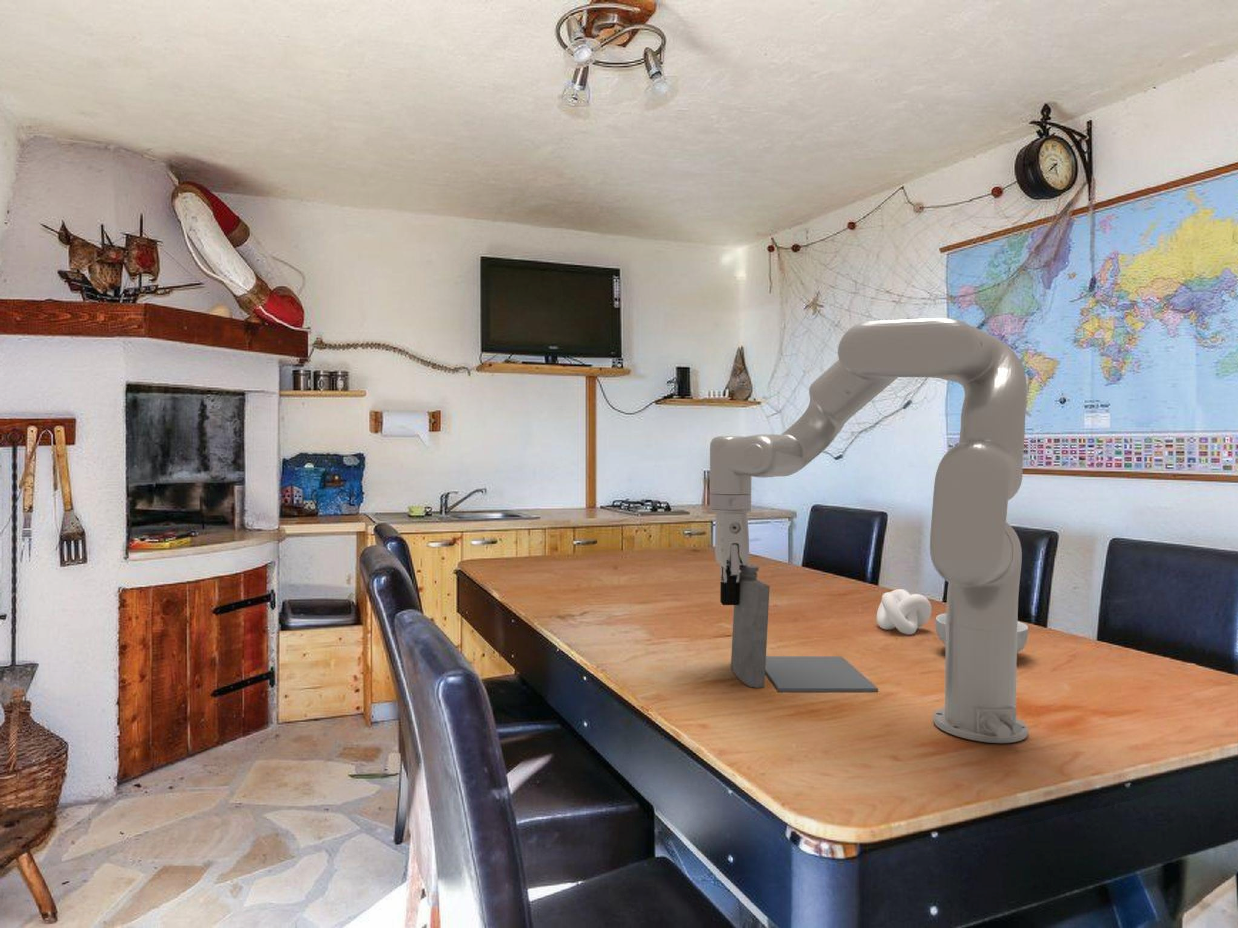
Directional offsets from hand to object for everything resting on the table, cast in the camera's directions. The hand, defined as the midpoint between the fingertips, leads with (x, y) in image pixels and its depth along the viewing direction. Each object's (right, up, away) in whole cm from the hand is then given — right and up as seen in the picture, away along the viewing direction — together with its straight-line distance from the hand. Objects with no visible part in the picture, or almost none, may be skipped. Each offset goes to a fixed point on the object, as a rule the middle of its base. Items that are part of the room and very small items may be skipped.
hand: (729, 603), depth 139 cm
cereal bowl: (+53, -13, +14) cm, 56 cm away
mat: (+15, -13, +1) cm, 20 cm away
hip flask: (+3, -13, 0) cm, 13 cm away
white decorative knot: (+45, -13, +35) cm, 59 cm away
